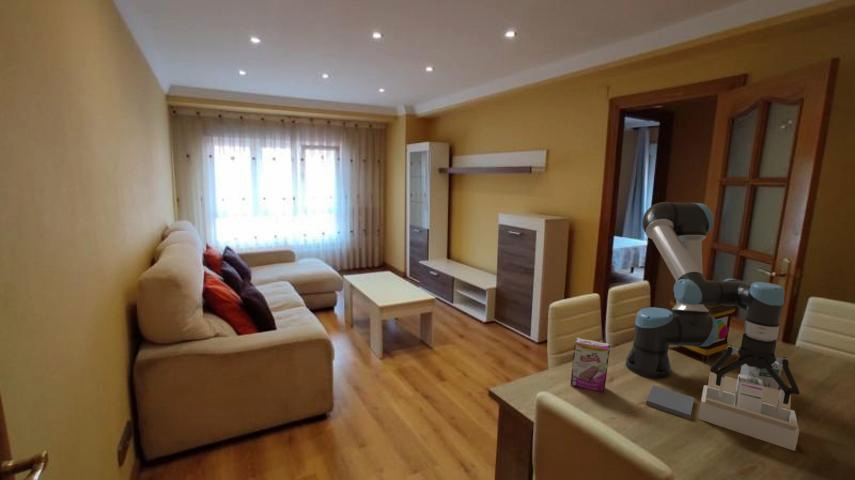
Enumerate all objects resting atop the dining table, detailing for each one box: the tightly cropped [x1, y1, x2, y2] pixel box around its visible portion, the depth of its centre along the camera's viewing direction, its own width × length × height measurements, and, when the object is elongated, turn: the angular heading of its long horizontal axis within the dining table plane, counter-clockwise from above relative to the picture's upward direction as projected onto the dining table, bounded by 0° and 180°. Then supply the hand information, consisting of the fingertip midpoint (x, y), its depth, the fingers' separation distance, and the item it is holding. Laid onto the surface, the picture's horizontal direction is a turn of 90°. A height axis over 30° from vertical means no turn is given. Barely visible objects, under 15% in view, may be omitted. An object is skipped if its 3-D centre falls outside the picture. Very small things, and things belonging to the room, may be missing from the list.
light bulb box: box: [739, 361, 783, 390], centre depth 141 cm, size 11×7×11 cm, turn 168°
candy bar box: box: [570, 337, 611, 394], centre depth 137 cm, size 11×5×16 cm, turn 65°
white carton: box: [698, 371, 800, 452], centre depth 118 cm, size 22×20×9 cm
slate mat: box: [645, 384, 695, 420], centre depth 129 cm, size 12×12×2 cm
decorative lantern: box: [670, 298, 736, 364], centre depth 165 cm, size 20×20×30 cm
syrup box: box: [734, 373, 765, 414], centre depth 118 cm, size 6×6×14 cm
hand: (748, 404), depth 118 cm, fingers open, 13 cm apart
